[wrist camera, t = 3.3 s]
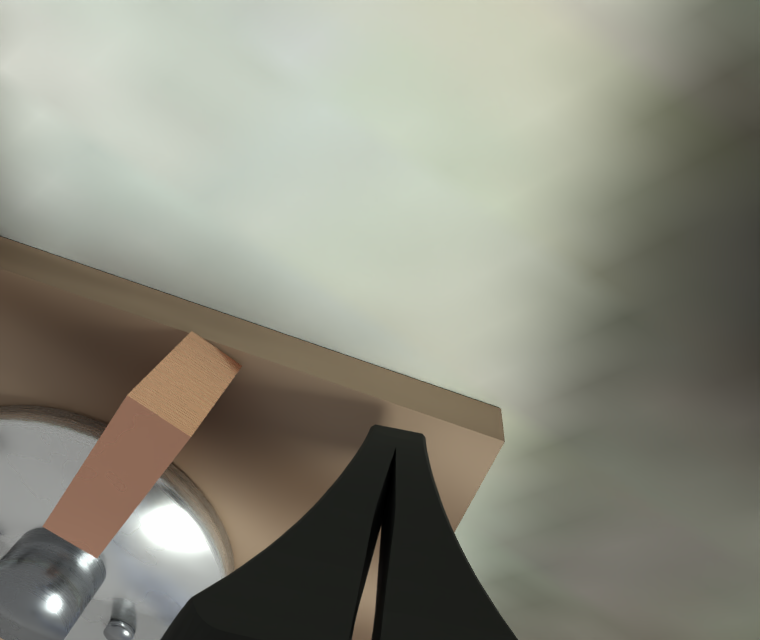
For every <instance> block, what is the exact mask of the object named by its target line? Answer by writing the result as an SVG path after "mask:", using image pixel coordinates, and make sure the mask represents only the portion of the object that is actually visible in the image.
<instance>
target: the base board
mask: <svg viewBox="0 0 760 640" xmlns="http://www.w3.org/2000/svg"><path fill="white" fill-rule="evenodd" d="M191 331H193V332H194V333H196V334H197V335H199V336H200V337H202V338H203V339H204V340H206V341H207V342H209V343H210V344H212V345H213V346H214V347H216V348H217V349H219V350H220V351H222V352H223V353H225V354H226V355H227V356H229V357H230V358H232V359H233V360H235V361H236V362H237V363H239V364H240V365H242V367H241V368H240V370H239V371H238V373H237V374H236V375H235V377H234V378H233V380H232V381H231V382H230V384H229V385H228V387H227V388H226V389H225V391H224V392H223V393H222V395H221V396H220V398H219V399H218V400H217V402H216V403H215V405H214V406H213V407H212V409H211V410H210V411H209V413H208V414H207V416H206V417H205V418H204V420H203V421H202V423H201V424H200V425H199V427H198V428H197V429H196V431H195V432H194V434H193V435H192V436H191V438H190V439H189V440H188V442H187V443H186V444H185V445H184V447H183V448H182V449H181V451H180V452H179V453H178V455H177V456H176V457H175V458H174V460H173V461H172V462H171V463H172V464H173V465H174V466H176V467H177V468H178V469H179V470H180V471H181V472H183V473H184V474H185V475H186V476H187V477H188V478H189V479H190V480H191V481H192V482H193V484H194V485H195V486H196V487H197V488H198V489H199V490H200V491H201V492H202V494H203V495H204V496H205V497H206V499H207V500H208V501H209V503H210V504H211V505H212V506H213V508H214V510H215V511H216V513H217V515H218V516H219V518H220V520H221V521H222V523H223V525H224V528H225V530H226V532H227V535H228V537H229V539H230V543H231V547H232V551H233V554H234V565H235V570H236V569H238V568H239V567H241V566H242V565H243V564H245V563H246V562H248V561H249V560H250V559H252V558H253V557H255V556H256V555H257V554H259V553H260V552H261V551H263V550H264V549H266V548H267V547H268V546H269V545H271V544H272V543H273V542H274V541H276V540H277V539H278V538H279V537H280V536H281V535H283V534H284V533H285V532H286V531H287V530H288V529H289V528H291V527H292V526H293V525H294V524H295V523H296V522H297V521H298V520H299V519H300V518H302V517H303V516H304V515H305V514H306V513H307V512H308V511H309V510H310V509H311V508H312V507H313V506H314V505H315V504H316V502H317V501H318V500H319V499H320V498H321V497H322V496H323V495H324V494H325V493H326V491H327V490H328V489H329V488H330V487H331V486H332V484H333V483H334V482H335V481H336V480H337V479H338V477H339V476H340V475H341V474H342V472H343V471H344V469H345V468H346V467H347V465H348V464H349V463H350V461H351V460H352V459H353V457H354V456H355V454H356V453H357V451H358V450H359V448H360V447H361V445H362V443H363V442H364V440H365V438H366V436H367V434H368V432H369V430H370V427H372V426H373V425H375V424H376V425H381V426H387V427H392V428H397V429H402V430H407V431H412V432H418V433H422V434H423V435H424V436H425V438H426V445H427V452H428V457H429V461H430V465H431V469H432V473H433V477H434V480H435V483H436V486H437V489H438V492H439V495H440V498H441V501H442V504H443V507H444V509H445V512H446V515H447V517H448V519H449V522H450V524H451V527H452V529H453V531H454V532H455V530H456V528H457V526H458V525H459V523H460V521H461V519H462V517H463V516H464V514H465V512H466V510H467V508H468V507H469V505H470V503H471V501H472V499H473V498H474V496H475V494H476V492H477V490H478V489H479V487H480V485H481V483H482V481H483V480H484V478H485V476H486V474H487V473H488V471H489V469H490V467H491V465H492V464H493V462H494V460H495V458H496V456H497V455H498V453H499V451H500V449H501V447H502V446H503V444H504V442H505V440H504V431H503V422H502V414H501V409H500V408H497V407H495V406H492V405H489V404H486V403H483V402H480V401H477V400H474V399H471V398H468V397H466V396H463V395H460V394H457V393H454V392H451V391H448V390H445V389H442V388H439V387H436V386H434V385H431V384H428V383H425V382H422V381H419V380H416V379H413V378H410V377H407V376H405V375H402V374H399V373H396V372H393V371H390V370H387V369H384V368H381V367H378V366H375V365H373V364H370V363H367V362H364V361H361V360H358V359H355V358H352V357H349V356H346V355H344V354H341V353H338V352H335V351H332V350H329V349H326V348H323V347H320V346H317V345H315V344H312V343H309V342H306V341H303V340H300V339H297V338H294V337H291V336H288V335H285V334H283V333H280V332H277V331H274V330H271V329H268V328H265V327H262V326H259V325H256V324H254V323H251V322H248V321H245V320H242V319H239V318H236V317H233V316H230V315H227V314H225V313H222V312H219V311H216V310H213V309H210V308H207V307H204V306H201V305H198V304H195V303H193V302H190V301H187V300H184V299H181V298H178V297H175V296H172V295H169V294H166V293H164V292H161V291H158V290H155V289H152V288H149V287H146V286H143V285H140V284H137V283H134V282H132V281H129V280H126V279H123V278H120V277H117V276H114V275H111V274H108V273H105V272H103V271H100V270H97V269H94V268H91V267H88V266H85V265H82V264H79V263H76V262H74V261H71V260H68V259H65V258H62V257H59V256H56V255H53V254H50V253H47V252H44V251H42V250H39V249H36V248H33V247H30V246H27V245H24V244H21V243H18V242H15V241H13V240H10V239H7V238H4V237H1V236H0V407H1V406H10V405H30V406H42V407H49V408H56V409H61V410H65V411H69V412H73V413H77V414H81V415H84V416H86V417H89V418H92V419H95V420H97V421H100V422H103V423H105V424H109V422H110V421H111V419H112V418H113V416H114V415H115V413H116V412H117V410H118V408H119V407H120V405H121V404H122V402H123V401H124V399H125V398H126V396H127V395H128V394H129V393H130V392H131V391H132V390H133V389H134V388H135V387H136V386H137V385H138V384H139V383H140V382H141V381H142V380H143V379H144V378H145V377H146V376H147V375H148V374H149V373H150V372H151V371H152V370H153V369H154V368H155V367H156V366H157V365H158V364H159V363H160V362H161V361H162V360H163V359H164V358H165V357H166V356H167V355H168V354H169V353H170V352H171V351H172V350H173V349H174V348H175V347H176V346H177V345H178V344H179V343H180V342H181V341H182V340H183V339H184V338H185V337H186V336H187V335H188V334H189V333H190V332H191ZM380 537H381V528H380V532H379V536H378V539H377V543H376V546H375V550H374V554H373V557H372V561H371V565H370V568H369V572H368V575H367V579H366V583H365V586H364V590H363V593H362V597H361V601H360V604H359V608H358V612H357V617H356V621H355V625H354V630H353V636H352V640H371V638H372V632H373V624H374V615H375V604H376V591H377V577H378V564H379V550H380ZM0 640H4V639H2V638H0Z"/></svg>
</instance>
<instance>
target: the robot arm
mask: <svg viewBox="0 0 760 640" xmlns="http://www.w3.org/2000/svg"><path fill="white" fill-rule="evenodd" d="M380 528H381V537H380V550H379V564H378V577H377V591H376V604H375V615H374V624H373V632H372V638H371V640H518V639H517V638H516V636H515V635H514V633H513V632H512V631H511V629H510V628H509V626H508V625H507V624H506V622H505V621H504V619H503V618H502V617H501V615H500V614H499V612H498V610H497V609H496V607H495V606H494V604H493V602H492V601H491V599H490V598H489V596H488V595H487V593H486V591H485V590H484V588H483V587H482V585H481V583H480V582H479V580H478V578H477V577H476V575H475V573H474V571H473V569H472V568H471V566H470V564H469V562H468V560H467V558H466V556H465V554H464V552H463V550H462V548H461V546H460V544H459V542H458V540H457V538H456V536H455V534H454V531H453V529H452V527H451V524H450V522H449V519H448V517H447V515H446V512H445V509H444V507H443V504H442V501H441V498H440V495H439V492H438V489H437V486H436V483H435V480H434V477H433V473H432V469H431V465H430V461H429V457H428V452H427V445H426V438H425V436H424V435H423V434H422V433H418V432H412V431H407V430H402V429H397V428H392V427H387V426H381V425H376V424H375V425H373V426H372V427H370V430H369V432H368V434H367V436H366V438H365V440H364V442H363V443H362V445H361V447H360V448H359V450H358V451H357V453H356V454H355V456H354V457H353V459H352V460H351V461H350V463H349V464H348V465H347V467H346V468H345V469H344V471H343V472H342V474H341V475H340V476H339V477H338V479H337V480H336V481H335V482H334V483H333V484H332V486H331V487H330V488H329V489H328V490H327V491H326V493H325V494H324V495H323V496H322V497H321V498H320V499H319V500H318V501H317V502H316V504H315V505H314V506H313V507H312V508H311V509H310V510H309V511H308V512H307V513H306V514H305V515H304V516H303V517H302V518H300V519H299V520H298V521H297V522H296V523H295V524H294V525H293V526H292V527H291V528H289V529H288V530H287V531H286V532H285V533H284V534H283V535H281V536H280V537H279V538H278V539H277V540H276V541H274V542H273V543H272V544H271V545H269V546H268V547H267V548H266V549H264V550H263V551H261V552H260V553H259V554H257V555H256V556H255V557H253V558H252V559H250V560H249V561H248V562H246V563H245V564H243V565H242V566H241V567H239V568H238V569H236V570H235V571H233V572H232V573H230V574H229V575H227V576H226V577H224V578H222V579H221V580H219V581H217V582H216V583H214V584H212V585H211V586H209V587H208V588H206V589H204V590H203V591H201V592H199V593H198V594H196V595H194V596H192V597H191V598H190V599H189V600H188V601H187V603H186V604H185V605H184V607H183V608H182V609H181V610H180V612H179V613H178V614H177V616H176V617H175V619H174V620H173V621H172V623H171V624H170V626H169V627H168V629H167V630H166V632H165V633H164V635H163V636H162V638H161V639H160V640H352V636H353V630H354V625H355V621H356V617H357V612H358V608H359V604H360V601H361V597H362V593H363V590H364V586H365V583H366V579H367V575H368V572H369V568H370V565H371V561H372V557H373V554H374V550H375V546H376V543H377V539H378V536H379V532H380Z"/></svg>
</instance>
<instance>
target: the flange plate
mask: <svg viewBox="0 0 760 640" xmlns="http://www.w3.org/2000/svg"><path fill="white" fill-rule="evenodd" d="M241 367H242V365H240V364H239V363H237V362H236V361H235V360H233V359H232V358H230V357H229V356H227V355H226V354H225V353H223V352H222V351H220V350H219V349H217V348H216V347H214V346H213V345H212V344H210V343H209V342H207V341H206V340H204V339H203V338H202V337H200V336H199V335H197V334H196V333H194V332H193V331H191V332H190V333H189V334H188V335H187V336H186V337H185V338H184V339H183V340H182V341H181V342H180V343H179V344H178V345H177V346H176V347H175V348H174V349H173V350H172V351H171V352H170V353H169V354H168V355H167V356H166V357H165V358H164V359H163V360H162V361H161V362H160V363H159V364H158V365H157V366H156V367H155V368H154V369H153V370H152V371H151V372H150V373H149V374H148V375H147V376H146V377H145V378H144V379H143V380H142V381H141V382H140V383H139V384H138V385H137V386H136V387H135V388H134V389H133V390H132V391H131V392H130V393H129V394H128V395H127V396H126V398H125V399H124V401H123V402H122V404H121V405H120V407H119V408H118V410H117V412H116V413H115V415H114V416H113V418H112V419H111V421H110V422H109V424H105V423H103V422H100V421H97V420H95V419H92V418H89V417H86V416H84V415H81V414H77V413H73V412H69V411H65V410H61V409H56V408H49V407H42V406H30V405H10V406H1V407H0V638H2V639H4V640H160V639H161V638H162V636H163V635H164V633H165V632H166V630H167V629H168V627H169V626H170V624H171V623H172V621H173V620H174V619H175V617H176V616H177V614H178V613H179V612H180V610H181V609H182V608H183V607H184V605H185V604H186V603H187V601H188V600H189V599H190V598H191V597H192V596H194V595H196V594H198V593H199V592H201V591H203V590H204V589H206V588H208V587H209V586H211V585H212V584H214V583H216V582H217V581H219V580H221V579H222V578H224V577H226V576H227V575H229V574H230V573H232V572H233V571H235V565H234V554H233V551H232V547H231V543H230V539H229V537H228V535H227V532H226V530H225V528H224V525H223V523H222V521H221V520H220V518H219V516H218V515H217V513H216V511H215V510H214V508H213V506H212V505H211V504H210V503H209V501H208V500H207V499H206V497H205V496H204V495H203V494H202V492H201V491H200V490H199V489H198V488H197V487H196V486H195V485H194V484H193V482H192V481H191V480H190V479H189V478H188V477H187V476H186V475H185V474H184V473H183V472H181V471H180V470H179V469H178V468H177V467H176V466H174V465H173V464H172V463H171V462H172V461H173V460H174V458H175V457H176V456H177V455H178V453H179V452H180V451H181V449H182V448H183V447H184V445H185V444H186V443H187V442H188V440H189V439H190V438H191V436H192V435H193V434H194V432H195V431H196V429H197V428H198V427H199V425H200V424H201V423H202V421H203V420H204V418H205V417H206V416H207V414H208V413H209V411H210V410H211V409H212V407H213V406H214V405H215V403H216V402H217V400H218V399H219V398H220V396H221V395H222V393H223V392H224V391H225V389H226V388H227V387H228V385H229V384H230V382H231V381H232V380H233V378H234V377H235V375H236V374H237V373H238V371H239V370H240V368H241Z"/></svg>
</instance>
